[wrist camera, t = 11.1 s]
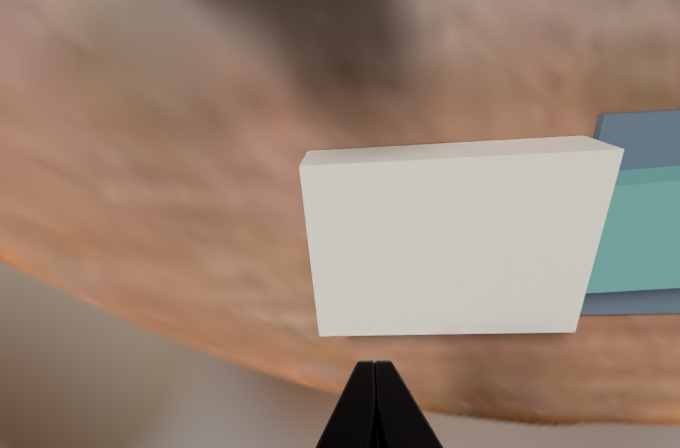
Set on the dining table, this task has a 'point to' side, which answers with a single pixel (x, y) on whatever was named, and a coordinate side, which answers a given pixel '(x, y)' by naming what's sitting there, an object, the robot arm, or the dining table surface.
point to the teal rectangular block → (640, 233)
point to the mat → (640, 153)
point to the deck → (456, 234)
